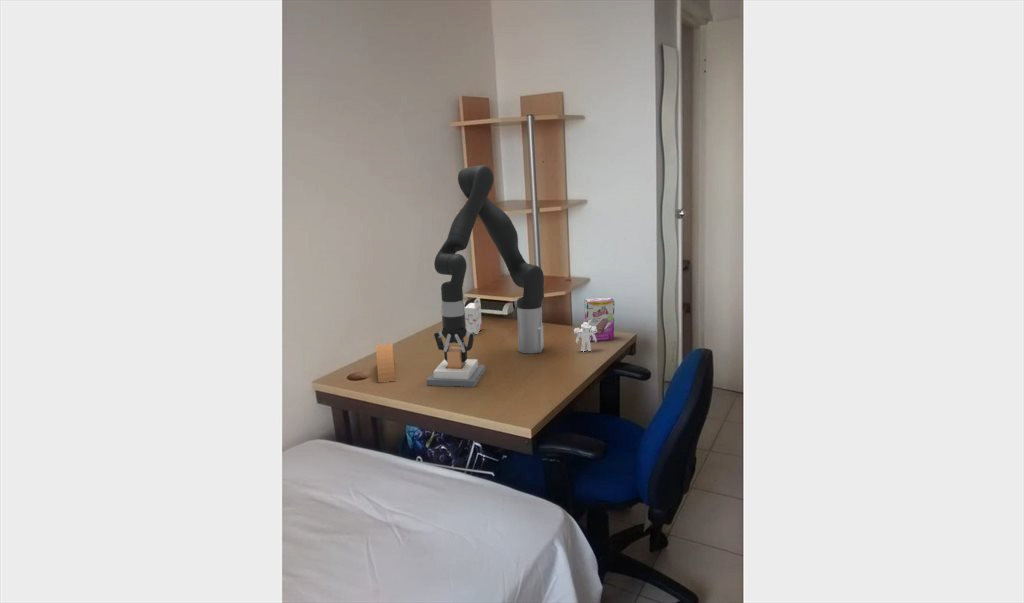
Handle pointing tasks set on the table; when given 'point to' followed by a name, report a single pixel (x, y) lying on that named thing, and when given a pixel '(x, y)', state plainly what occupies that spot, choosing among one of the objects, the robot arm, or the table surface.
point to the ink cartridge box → (473, 316)
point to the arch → (385, 363)
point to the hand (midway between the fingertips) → (456, 361)
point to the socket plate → (457, 382)
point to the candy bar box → (600, 317)
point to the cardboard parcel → (455, 358)
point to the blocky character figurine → (585, 335)
